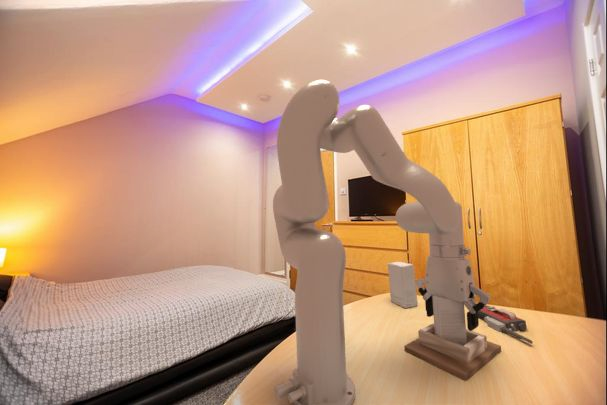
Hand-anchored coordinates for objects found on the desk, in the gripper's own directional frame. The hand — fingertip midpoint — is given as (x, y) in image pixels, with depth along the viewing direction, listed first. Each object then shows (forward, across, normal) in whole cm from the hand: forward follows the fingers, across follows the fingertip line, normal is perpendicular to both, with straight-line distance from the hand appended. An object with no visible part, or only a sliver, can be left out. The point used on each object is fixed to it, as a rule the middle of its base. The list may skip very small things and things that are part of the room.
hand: (450, 321), depth 62 cm
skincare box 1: (+7, +26, -18) cm, 32 cm away
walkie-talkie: (+8, -3, -24) cm, 26 cm away
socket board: (+7, 0, 0) cm, 7 cm away
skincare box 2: (+6, 0, 0) cm, 6 cm away
